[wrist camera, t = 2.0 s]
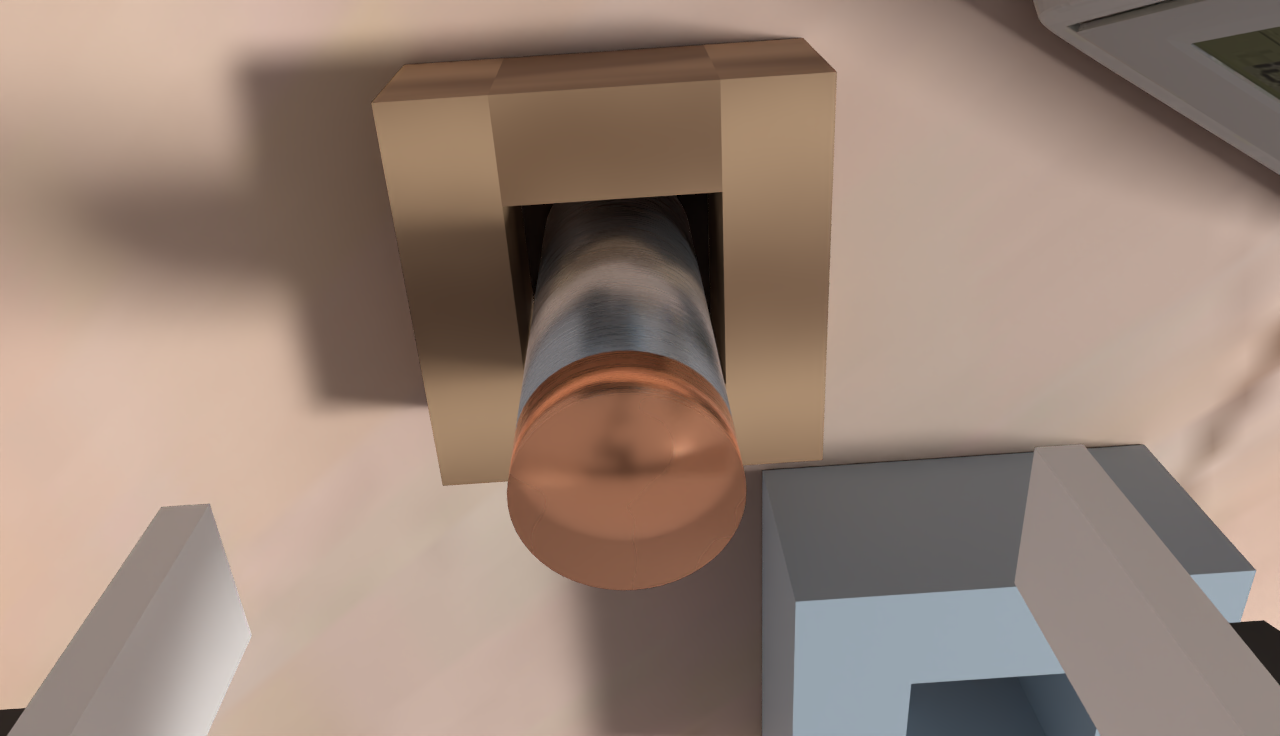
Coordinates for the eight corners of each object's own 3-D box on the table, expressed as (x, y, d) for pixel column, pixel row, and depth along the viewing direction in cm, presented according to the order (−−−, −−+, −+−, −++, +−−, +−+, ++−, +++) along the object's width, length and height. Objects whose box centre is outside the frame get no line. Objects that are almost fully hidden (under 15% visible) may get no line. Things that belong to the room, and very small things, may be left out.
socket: (762, 470, 31) (795, 601, 26) (1144, 444, 31) (1256, 570, 26) (761, 737, 37) (789, 889, 31) (1083, 715, 37) (1164, 864, 31)
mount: (404, 64, 25) (371, 102, 21) (803, 37, 25) (836, 72, 21) (462, 407, 29) (442, 485, 26) (795, 385, 29) (822, 459, 26)
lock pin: (537, 173, 26) (492, 402, 15) (687, 162, 26) (746, 386, 15) (552, 309, 28) (521, 597, 17) (692, 300, 28) (747, 582, 17)
